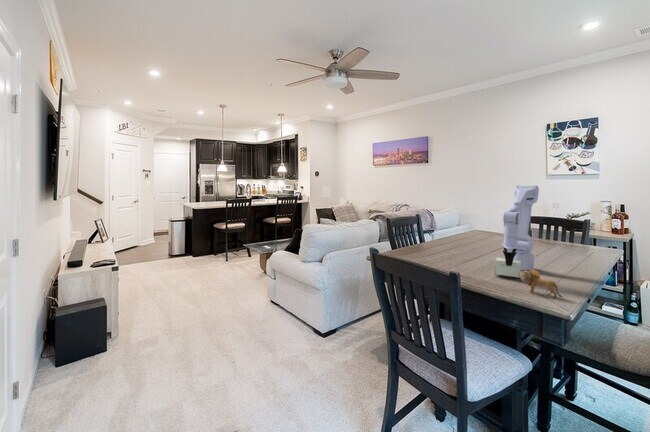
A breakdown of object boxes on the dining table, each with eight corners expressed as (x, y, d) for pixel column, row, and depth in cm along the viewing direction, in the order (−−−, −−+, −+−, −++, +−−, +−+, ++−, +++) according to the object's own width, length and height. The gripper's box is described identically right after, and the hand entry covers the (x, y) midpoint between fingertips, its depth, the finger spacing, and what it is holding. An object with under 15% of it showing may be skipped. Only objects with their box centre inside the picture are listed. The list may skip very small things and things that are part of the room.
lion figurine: (518, 292, 132) (520, 271, 131) (520, 288, 136) (521, 268, 135) (562, 300, 123) (564, 278, 122) (562, 296, 127) (564, 274, 126)
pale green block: (494, 274, 152) (495, 260, 151) (495, 270, 158) (496, 257, 157) (520, 277, 146) (521, 263, 146) (519, 273, 153) (520, 259, 152)
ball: (533, 268, 149) (531, 277, 150) (525, 268, 148) (524, 278, 148) (543, 271, 145) (541, 281, 145) (535, 272, 143) (534, 282, 144)
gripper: (501, 233, 158) (500, 259, 160) (500, 238, 146) (498, 266, 147) (518, 234, 154) (516, 261, 156) (518, 239, 142) (516, 268, 144)
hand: (508, 263), depth 152 cm, fingers closed on pale green block, 6 cm apart
